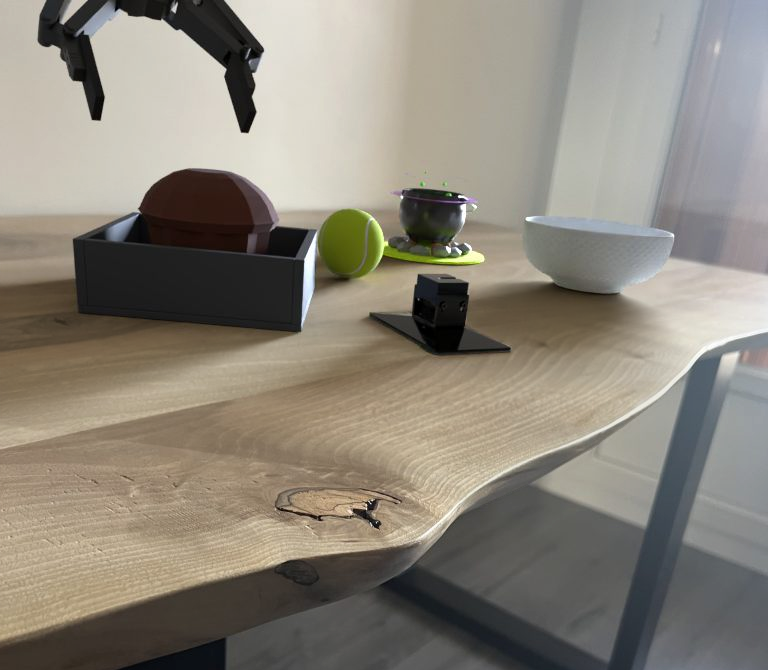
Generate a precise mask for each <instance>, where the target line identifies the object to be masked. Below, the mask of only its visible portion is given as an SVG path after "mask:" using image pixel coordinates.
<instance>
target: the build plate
mask: <svg viewBox="0 0 768 670" xmlns="http://www.w3.org/2000/svg"><path fill="white" fill-rule="evenodd" d="M469 286H470V282H468V281H466V280H463V279H461V278H457V277H456V276H453V275H452V274H450V273H417V277H416V283H415V284H414V287H413V295H412V296H413V297H412V298H413V299H412V307H411V310H405V311H370V312H369V314H368V316H369V317H370V318H372V319H373V320H374V321H376V322H379V323H380V324H382V325H384V326H386V327H388V328H389V329H391V330H392V331H394V332H396V333H398V334H400V335H401V336H403V337H405V338H407V339H408V340H410V341H412V342H414V343H416V344H417V345H419V348H421V349H423V350H424V351H426V352H428V353H431V354H434V355H438V356H442V355H445V356H446V355H462V354H481V353H482V354H486V353H503V352H511V350H512V347H511V346H510V345H508V344H506V343H504V342H502V341H500V340H497V339H495V338H494V337H491V336H490V335H487V334H485V333H483V332H481V331H479V330H477V329H475V328H473V327H471V326H469V325H467V323H466V322H467V317H468V308H469V303H470V302H469V301H470V295H469Z"/></svg>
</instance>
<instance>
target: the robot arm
mask: <svg viewBox="0 0 768 670" xmlns="http://www.w3.org/2000/svg"><path fill="white" fill-rule="evenodd" d="M72 1H73V0H45V1H44V4H43V7H42V8H41V11H40V13H39V16H38V25H37V39H36V40H37V44H39V45H40V46H41V47H44V48H50V47H52V46H54V47H55V48H58V49H59V58H60V59H61V60H62V61H63V62H64V63H65V65H66V69H67V73H68V76H69V78H70V79H71V81H72V82H78V83H79V82H80V83H81V84H82V88H83V93H84V95H85V99H86V104H87V108H88V111H89V115H90V119H91V121H95V122H96V121H97V122H101V120H102V116H103V110H104V106H105V105H104V104H105V100H106V95H105V92H104V89H103V84H102V81H101V77H100V73H99V68H98V65H97V61H96V57H95V54H94V53H95V52H94V49H93V46H92V43H91V42H92V41H91V39H92V37H94V35H96V33H97V32H98V31H99V30H100V29H101V28H102V27H104V25H106V23H107V22H108V21H110V22H111V21H113V20H114V18H115V17H117V15H118V14H119V13H120V12H121V11H122V12H124V13H126V14H127V17H133V18H141V17H142V18H144V17H145V18H147V19H150V20H153V21H162V20H163V21H164V22H165V23H167V24H168V25H169V26H170V27H171V28H172V29H173V30H174V31H179V30H180V31H182V33H184V34H185V35H186V36H188V38H189V39H191V41H193V42H194V43H195V44H197V45H198V46H199V47H200V48H201V49H202V50H203V51H205V52H206V53H207V54H208V55H209V56H210V57H212V59H214V60H215V61H216V62H217V63H218V64H220V65H221V66H222V67H223V68H225V69H226V70H225V72H224V75H223V79H224V82H225V85H226V88H227V92H228V95H229V98H230V101H231V104H232V108H233V111H234V114H235V119H236V121H237V124H238V128H239V131H240V133H241V134H249V133H250V131H251V128H252V125H253V124H254V121H255V118H256V115H257V113H258V110H257V108H256V105H255V102H254V98H253V95H254V93H255V90H256V87H257V86H256V81H255V77H254V75H253V74H256V73H257V72H258V69H259V68H260V67H259V66H260V64H261V61H262V59H263V56H264V53H265V48H264V46H263V45H262V44H261V42H260V41H259V40H258V39H257V38H256V37H255V36H254V34H253V33H252V32H251V30H250V29H249V28H248V27H247V26H246V25H245V24H244V22H243V21H242V19H241V18H240V17H239V16H238V15H237V14H236V13H235V11H234V10H233V9H232V8H231V6H230V5H229V4H228V3H227V2H226V0H86V1H85V2H84V3H83V4H82V5H81V6H80V7H79V8H78V9H77V10H76V11H75V12H74V13H73V14H72V15H71V16H70V17H69V18H68V19H67V20H66V21H64V19H65V17H66V14H67V12H68V10H69V8H70V5H71V3H72ZM175 7H176V9H175V12H174V11H173V9H174V8H175ZM63 21H64V23H63Z"/></svg>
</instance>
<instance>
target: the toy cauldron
mask: <svg viewBox="0 0 768 670" xmlns="http://www.w3.org/2000/svg"><path fill="white" fill-rule="evenodd" d="M421 163H425V161H421ZM443 164H444V165H445V163H444V162H443ZM427 173H428V172H427V171H426V170H425V171H424V175H429V174H427ZM410 174H411V175H412V177H415V176H413V173H405V175H406V176H409V175H410ZM446 177H447V178H449V176H447V175H446ZM453 178H454V179H455V178H456V177H453ZM426 179H428V180H430V178H426ZM458 179H460V180H461V178H460V177H458ZM435 180H439V179H435ZM449 181H451V180H448V182H449ZM462 181H464V182H467V180H466V179H464V178H462ZM419 185H420V188H419V187H407V188H404V189H402V190H397V191H395V190H392V191H390V192H389V193H390V194H393V195H395V196H398V198H399V199H401V200H400V202H399V213H398V218H399V223H400V227H401V231H403V233H404V234H405V236H392V237H391V238H389V239H388V240H387V241H384V250H383V254H382V256H386V257H391V258H394V259H399V260H404V261H411V262H418V263H425V264H438V265H475V264H481V263H483V262H485V256H484V255H483V254H481V253H480V252H477V251H474V250H472V246H471V245H470V244H467V243H466V242H463V243H460V244H459V243H457V242H455V241H453V240H455V238H456V237H458V235H460V233H461V231H462V229H463V226H464V224H465V221H466V215H467V214H471V213H473V212H475V211H476V209H477V206H476V205H475V204H474V203H479V200H477V199H473V198H470V197H466V196H465V194H463V193H460V192H457V191H449V190H442V189H433V188H423V187H424V186H425V183H424V182H423V181H421V182H420V183H419ZM442 186H443V187H446V186H447V182H445V181H444V182H442ZM421 187H422V188H421ZM466 205H469V206H471V207H472V209H470V210H467V208H466Z"/></svg>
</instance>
